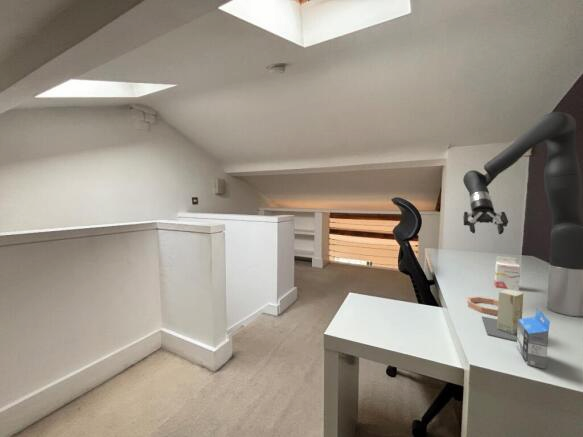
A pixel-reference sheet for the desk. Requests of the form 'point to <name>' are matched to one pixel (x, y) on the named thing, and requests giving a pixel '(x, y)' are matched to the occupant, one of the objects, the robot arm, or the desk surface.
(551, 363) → the desk surface
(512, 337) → the mat
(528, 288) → the desk surface
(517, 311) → the skincare box
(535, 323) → the label tape cartridge
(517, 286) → the ink cartridge box
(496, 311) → the ring
